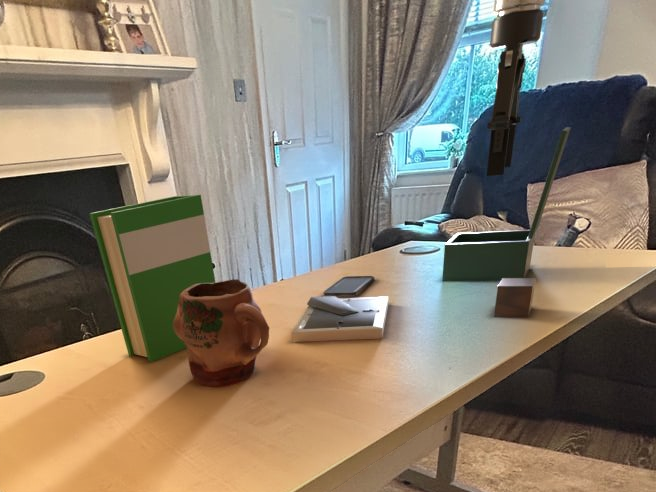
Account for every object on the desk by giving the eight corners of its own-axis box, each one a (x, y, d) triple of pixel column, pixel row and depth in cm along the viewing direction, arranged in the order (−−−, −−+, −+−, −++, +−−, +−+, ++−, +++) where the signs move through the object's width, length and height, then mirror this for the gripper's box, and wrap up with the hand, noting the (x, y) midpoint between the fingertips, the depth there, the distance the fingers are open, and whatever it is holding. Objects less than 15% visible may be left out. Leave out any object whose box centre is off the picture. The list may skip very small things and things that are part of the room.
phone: (375, 275, 125) (355, 292, 114) (375, 280, 125) (355, 297, 115) (343, 276, 128) (321, 292, 117) (344, 281, 129) (321, 297, 118)
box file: (442, 282, 117) (444, 244, 113) (453, 269, 126) (456, 233, 122) (523, 282, 110) (529, 241, 106) (529, 268, 119) (535, 229, 115)
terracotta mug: (304, 375, 82) (296, 280, 74) (251, 405, 75) (236, 304, 67) (216, 357, 94) (201, 273, 86) (163, 382, 87) (142, 293, 79)
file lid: (562, 130, 94) (567, 130, 94) (566, 127, 103) (570, 127, 103) (527, 238, 106) (531, 239, 105) (534, 227, 114) (538, 227, 114)
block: (530, 310, 95) (536, 277, 92) (527, 319, 91) (532, 286, 88) (498, 309, 97) (502, 278, 94) (493, 318, 93) (497, 286, 90)
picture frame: (311, 310, 111) (293, 343, 95) (311, 296, 109) (291, 328, 93) (388, 306, 107) (382, 340, 91) (388, 291, 106) (382, 323, 89)
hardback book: (151, 363, 95) (113, 212, 81) (129, 357, 99) (89, 213, 86) (224, 334, 104) (200, 194, 91) (200, 330, 109) (174, 196, 95)
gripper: (500, 25, 94) (485, 166, 106) (483, 8, 76) (467, 180, 88) (547, 16, 91) (526, 162, 103) (540, -4, 73) (516, 176, 85)
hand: (499, 171), depth 96 cm, fingers open, 13 cm apart
